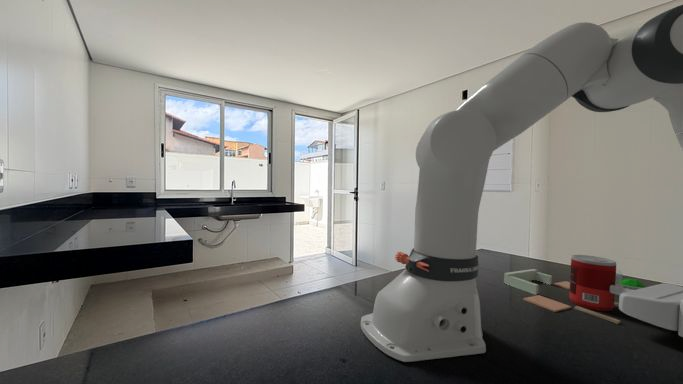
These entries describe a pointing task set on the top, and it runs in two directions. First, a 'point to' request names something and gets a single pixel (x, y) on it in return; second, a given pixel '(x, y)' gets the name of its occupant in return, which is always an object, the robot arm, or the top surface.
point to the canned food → (592, 282)
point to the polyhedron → (632, 283)
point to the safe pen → (526, 280)
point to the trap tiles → (548, 302)
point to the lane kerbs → (599, 314)
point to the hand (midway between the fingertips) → (612, 287)
